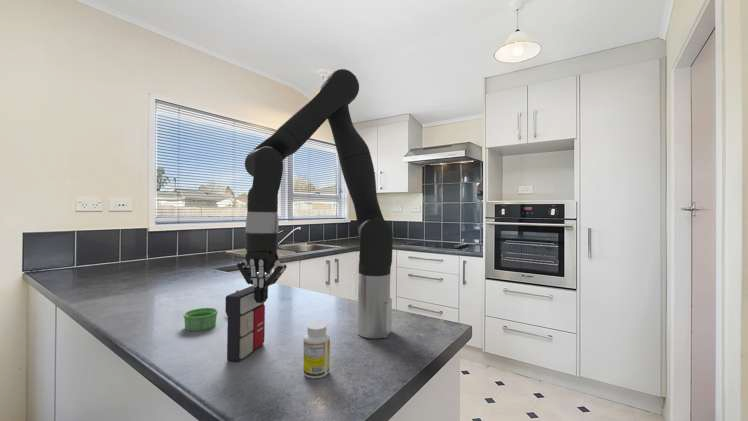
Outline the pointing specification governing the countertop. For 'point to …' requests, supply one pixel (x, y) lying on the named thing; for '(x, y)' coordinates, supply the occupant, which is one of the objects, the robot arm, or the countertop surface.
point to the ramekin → (200, 319)
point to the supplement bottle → (316, 351)
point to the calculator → (244, 324)
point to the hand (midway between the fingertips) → (260, 302)
